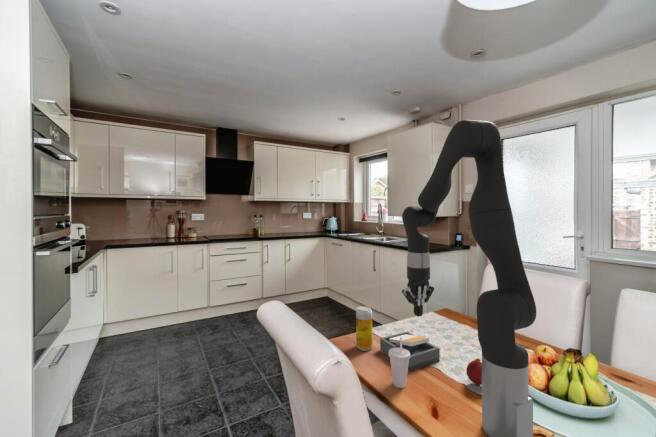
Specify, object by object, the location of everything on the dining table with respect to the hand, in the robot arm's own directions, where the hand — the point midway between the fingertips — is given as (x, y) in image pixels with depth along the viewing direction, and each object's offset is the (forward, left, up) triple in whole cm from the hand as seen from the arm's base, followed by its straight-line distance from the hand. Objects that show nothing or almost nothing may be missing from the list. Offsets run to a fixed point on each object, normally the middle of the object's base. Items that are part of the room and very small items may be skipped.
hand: (418, 315), depth 99 cm
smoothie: (-7, +14, -16) cm, 23 cm away
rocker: (+5, 0, -11) cm, 12 cm away
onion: (-18, -5, -16) cm, 25 cm away
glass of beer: (+17, +11, -16) cm, 26 cm away
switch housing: (+5, 0, -16) cm, 17 cm away
